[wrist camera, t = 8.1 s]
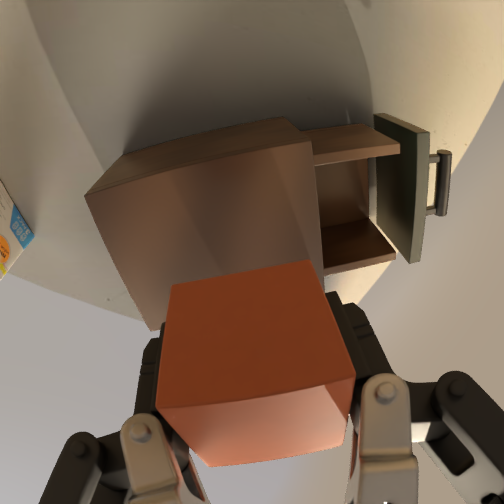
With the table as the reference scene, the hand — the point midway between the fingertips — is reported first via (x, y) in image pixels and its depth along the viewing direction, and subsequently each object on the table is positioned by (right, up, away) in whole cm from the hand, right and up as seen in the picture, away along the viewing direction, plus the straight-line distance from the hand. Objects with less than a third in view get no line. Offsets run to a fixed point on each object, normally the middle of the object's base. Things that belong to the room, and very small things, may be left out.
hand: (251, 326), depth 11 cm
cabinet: (-3, +8, +18) cm, 20 cm away
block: (0, 0, 0) cm, 0 cm away
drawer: (+8, +9, +17) cm, 21 cm away
